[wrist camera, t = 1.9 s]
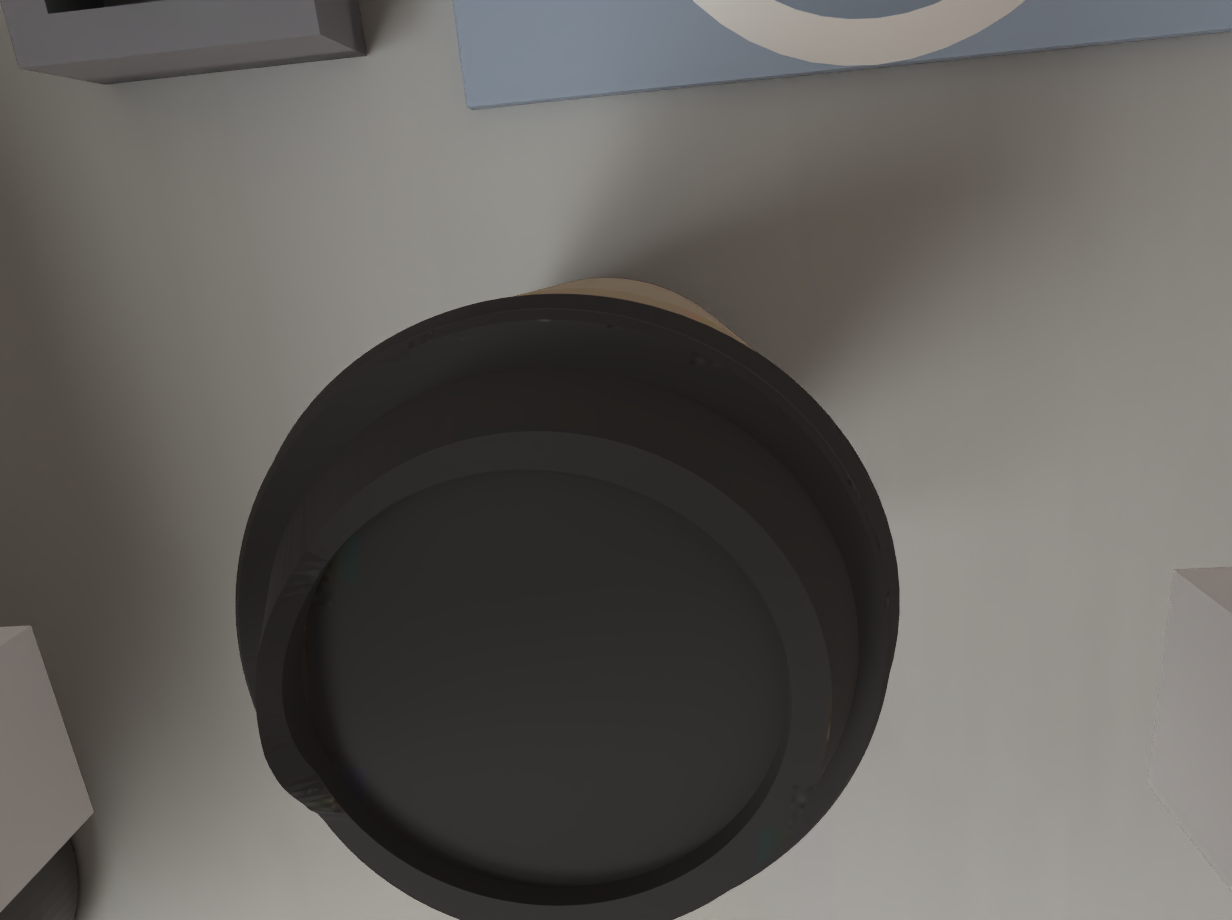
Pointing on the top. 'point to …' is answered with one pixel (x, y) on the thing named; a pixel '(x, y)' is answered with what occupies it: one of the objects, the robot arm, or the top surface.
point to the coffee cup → (567, 607)
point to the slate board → (773, 38)
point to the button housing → (177, 36)
